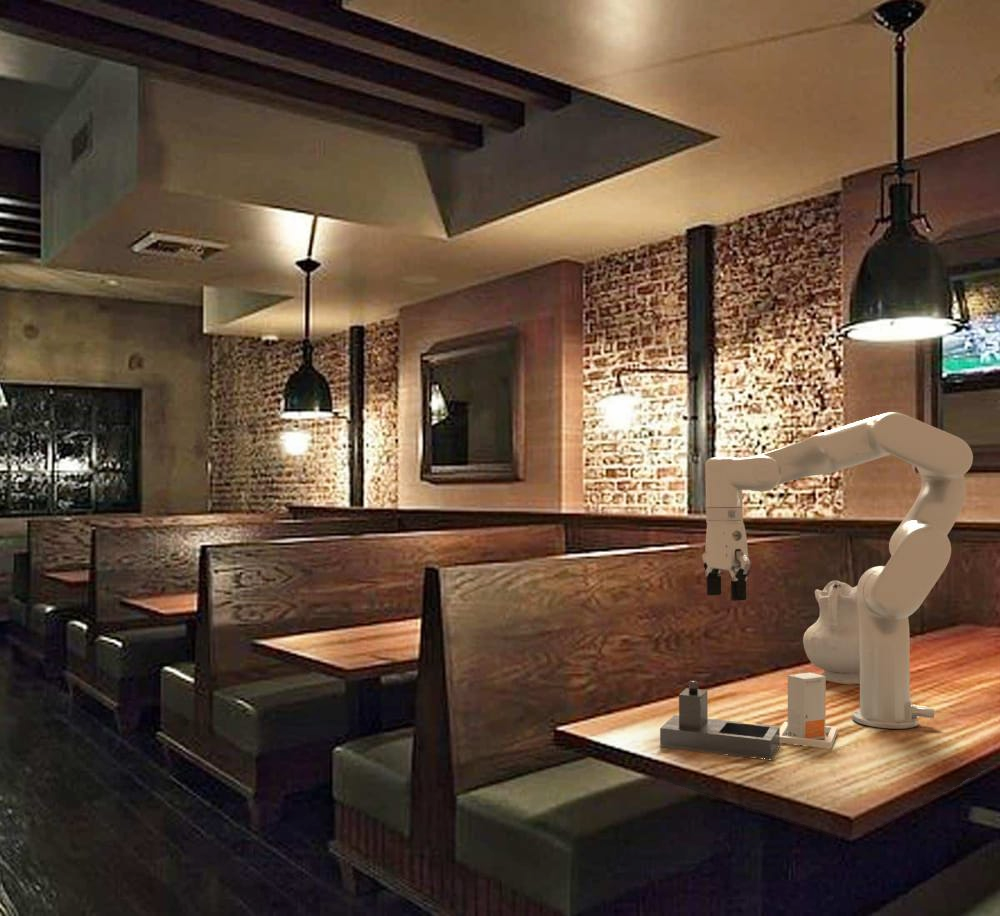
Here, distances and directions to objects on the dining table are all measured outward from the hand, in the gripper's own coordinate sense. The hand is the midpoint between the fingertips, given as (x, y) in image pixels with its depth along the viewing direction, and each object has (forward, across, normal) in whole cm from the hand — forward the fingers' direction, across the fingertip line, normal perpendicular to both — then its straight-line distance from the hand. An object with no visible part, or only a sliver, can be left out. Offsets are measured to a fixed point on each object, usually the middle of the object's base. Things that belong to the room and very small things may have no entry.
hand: (726, 597), depth 201 cm
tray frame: (+25, -19, -6) cm, 32 cm away
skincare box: (+25, -19, -6) cm, 32 cm away
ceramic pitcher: (+26, +22, -45) cm, 56 cm away
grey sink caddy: (+25, -19, +13) cm, 34 cm away
